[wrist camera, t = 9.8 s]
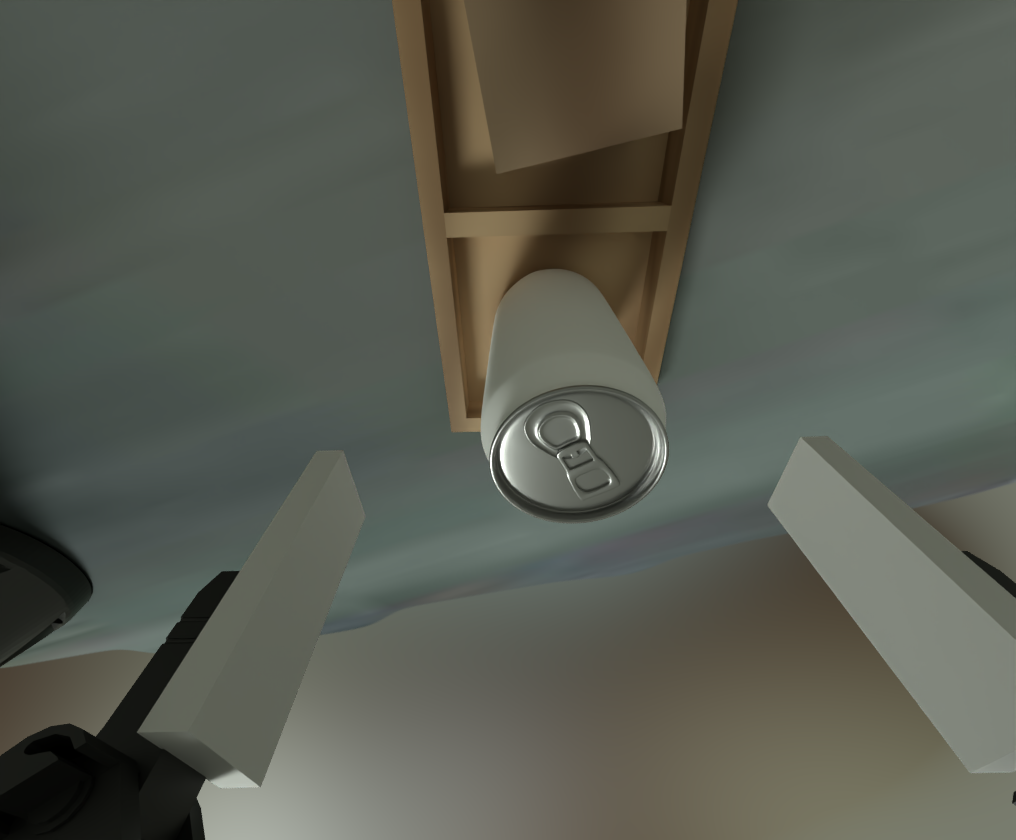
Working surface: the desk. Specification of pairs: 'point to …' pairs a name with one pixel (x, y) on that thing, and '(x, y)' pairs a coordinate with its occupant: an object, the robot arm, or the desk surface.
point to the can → (569, 404)
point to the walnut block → (576, 74)
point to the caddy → (546, 197)
